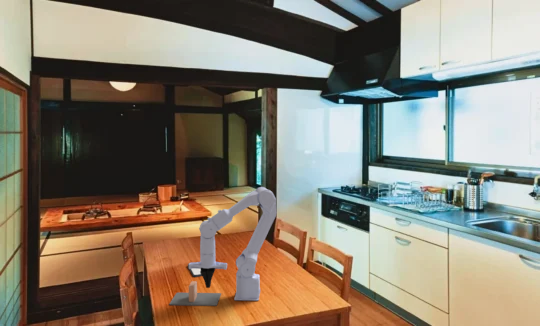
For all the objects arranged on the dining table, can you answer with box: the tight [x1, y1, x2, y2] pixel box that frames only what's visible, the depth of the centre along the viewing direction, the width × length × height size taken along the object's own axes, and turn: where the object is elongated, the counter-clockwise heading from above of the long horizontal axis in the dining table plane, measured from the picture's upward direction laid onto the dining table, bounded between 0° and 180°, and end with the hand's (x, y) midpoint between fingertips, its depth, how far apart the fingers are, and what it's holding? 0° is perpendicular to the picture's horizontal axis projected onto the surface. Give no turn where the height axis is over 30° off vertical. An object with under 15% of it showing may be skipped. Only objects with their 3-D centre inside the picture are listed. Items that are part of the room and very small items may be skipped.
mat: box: [169, 292, 222, 307], centre depth 141 cm, size 18×10×1 cm, turn 88°
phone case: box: [187, 263, 202, 278], centre depth 172 cm, size 9×2×16 cm
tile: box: [188, 280, 198, 302], centre depth 140 cm, size 2×5×6 cm, turn 178°
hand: (208, 286), depth 140 cm, fingers closed
